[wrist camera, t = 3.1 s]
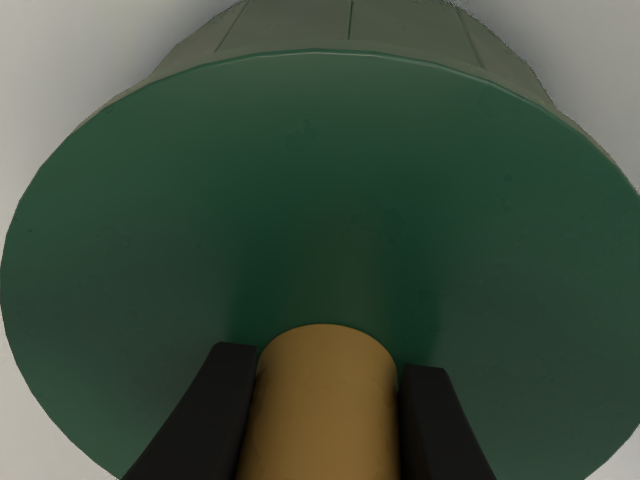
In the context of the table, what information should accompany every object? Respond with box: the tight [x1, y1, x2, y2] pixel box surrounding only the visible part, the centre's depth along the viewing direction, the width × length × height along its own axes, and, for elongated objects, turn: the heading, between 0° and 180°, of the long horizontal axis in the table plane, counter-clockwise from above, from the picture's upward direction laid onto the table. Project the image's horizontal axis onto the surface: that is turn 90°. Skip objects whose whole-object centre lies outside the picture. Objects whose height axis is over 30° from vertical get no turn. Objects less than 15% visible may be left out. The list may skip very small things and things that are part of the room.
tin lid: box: [0, 38, 640, 480], centre depth 10 cm, size 11×11×5 cm
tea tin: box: [149, 0, 557, 109], centre depth 13 cm, size 10×10×5 cm
